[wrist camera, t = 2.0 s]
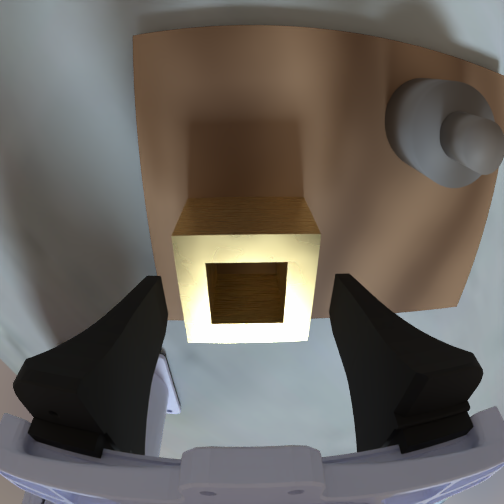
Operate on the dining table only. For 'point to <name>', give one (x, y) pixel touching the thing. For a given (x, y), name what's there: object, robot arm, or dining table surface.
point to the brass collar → (246, 285)
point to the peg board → (324, 150)
